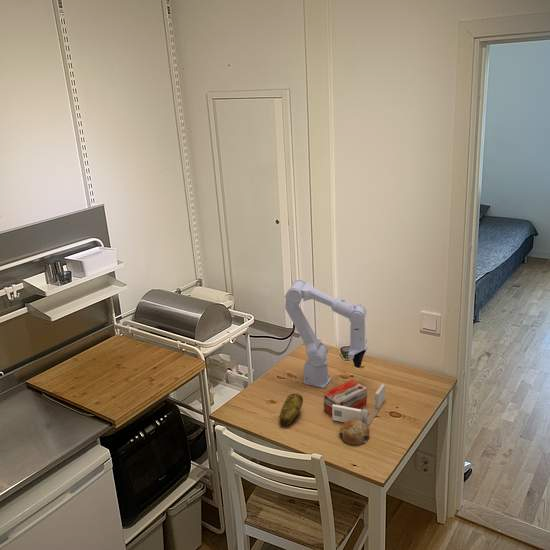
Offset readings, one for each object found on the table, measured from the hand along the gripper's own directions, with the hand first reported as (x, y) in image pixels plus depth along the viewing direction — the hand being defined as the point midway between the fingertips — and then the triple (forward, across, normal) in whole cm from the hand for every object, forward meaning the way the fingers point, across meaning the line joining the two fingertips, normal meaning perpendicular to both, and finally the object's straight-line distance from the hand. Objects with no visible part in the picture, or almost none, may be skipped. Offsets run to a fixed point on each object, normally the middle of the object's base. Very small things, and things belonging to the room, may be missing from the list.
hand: (357, 366), depth 231 cm
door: (+8, -25, -6) cm, 27 cm away
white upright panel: (+9, -15, -13) cm, 22 cm away
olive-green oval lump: (+9, -31, +14) cm, 35 cm away
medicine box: (+9, -16, -2) cm, 19 cm away
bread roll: (+9, -32, -11) cm, 35 cm away
